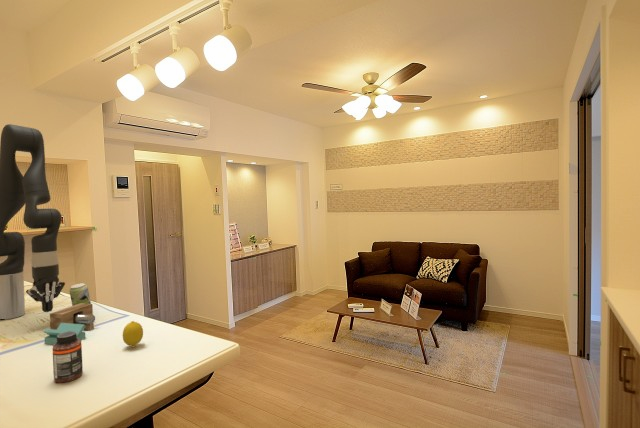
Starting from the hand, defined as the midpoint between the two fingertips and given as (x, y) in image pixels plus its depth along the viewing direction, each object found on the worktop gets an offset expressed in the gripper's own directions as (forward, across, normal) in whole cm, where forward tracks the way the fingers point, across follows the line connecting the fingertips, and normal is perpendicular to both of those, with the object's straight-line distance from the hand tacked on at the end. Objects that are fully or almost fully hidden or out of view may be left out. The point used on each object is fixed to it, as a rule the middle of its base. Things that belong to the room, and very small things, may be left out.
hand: (47, 311), depth 122 cm
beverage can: (+6, -14, 0) cm, 15 cm away
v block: (+6, +10, +18) cm, 22 cm away
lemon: (+6, +10, +43) cm, 45 cm away
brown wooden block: (+6, 0, +13) cm, 14 cm away
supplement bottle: (+6, +29, +40) cm, 50 cm away
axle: (+2, 0, +12) cm, 12 cm away
